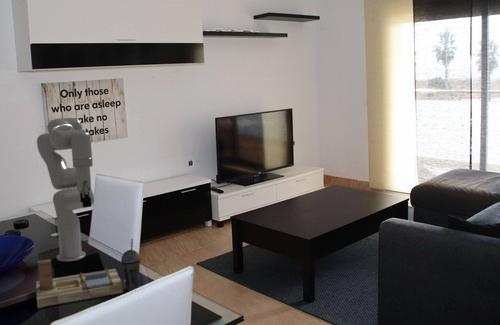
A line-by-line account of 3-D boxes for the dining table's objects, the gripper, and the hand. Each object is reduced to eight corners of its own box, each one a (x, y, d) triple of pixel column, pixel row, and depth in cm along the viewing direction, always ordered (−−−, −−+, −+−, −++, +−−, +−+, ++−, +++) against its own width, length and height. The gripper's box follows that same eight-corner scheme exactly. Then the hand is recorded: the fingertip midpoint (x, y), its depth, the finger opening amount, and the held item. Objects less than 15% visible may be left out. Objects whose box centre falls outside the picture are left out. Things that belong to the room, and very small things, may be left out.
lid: (84, 280, 199) (84, 274, 199) (107, 276, 202) (106, 270, 202) (86, 288, 191) (86, 282, 191) (110, 284, 194) (110, 278, 194)
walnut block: (40, 286, 195) (37, 261, 193) (52, 284, 196) (50, 259, 195) (40, 290, 190) (37, 264, 189) (53, 288, 192) (50, 263, 191)
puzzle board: (37, 289, 201) (36, 279, 200) (115, 276, 212) (115, 267, 211) (37, 308, 184) (36, 297, 184) (123, 293, 196) (122, 282, 195)
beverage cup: (119, 289, 199) (115, 239, 196) (135, 284, 204) (132, 235, 201) (129, 294, 194) (126, 243, 191) (146, 288, 199) (142, 238, 196)
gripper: (71, 160, 213) (74, 201, 216) (74, 166, 197) (78, 210, 200) (90, 159, 216) (93, 199, 219) (94, 165, 200) (98, 208, 203)
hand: (85, 204), depth 209 cm, fingers open, 9 cm apart
